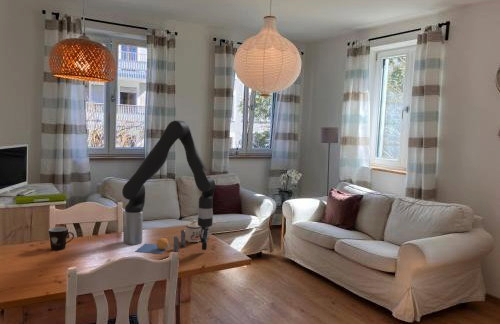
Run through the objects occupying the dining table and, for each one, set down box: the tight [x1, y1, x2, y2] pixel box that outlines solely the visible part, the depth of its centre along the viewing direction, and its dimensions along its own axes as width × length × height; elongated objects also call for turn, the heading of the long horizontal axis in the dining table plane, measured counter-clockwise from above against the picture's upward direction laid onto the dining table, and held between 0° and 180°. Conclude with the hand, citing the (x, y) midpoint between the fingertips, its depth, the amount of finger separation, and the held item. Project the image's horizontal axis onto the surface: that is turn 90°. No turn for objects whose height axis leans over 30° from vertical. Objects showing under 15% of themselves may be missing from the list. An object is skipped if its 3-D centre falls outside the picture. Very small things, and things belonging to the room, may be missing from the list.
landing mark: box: [134, 242, 171, 255], centre depth 208 cm, size 14×14×1 cm
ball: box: [156, 237, 170, 250], centre depth 207 cm, size 6×6×6 cm
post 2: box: [180, 229, 187, 248], centre depth 212 cm, size 2×2×9 cm
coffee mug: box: [48, 226, 75, 252], centre depth 200 cm, size 12×9×10 cm
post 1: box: [172, 235, 180, 253], centre depth 200 cm, size 2×2×9 cm
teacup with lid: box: [185, 219, 202, 243], centre depth 225 cm, size 12×9×12 cm
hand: (204, 249), depth 205 cm, fingers closed
